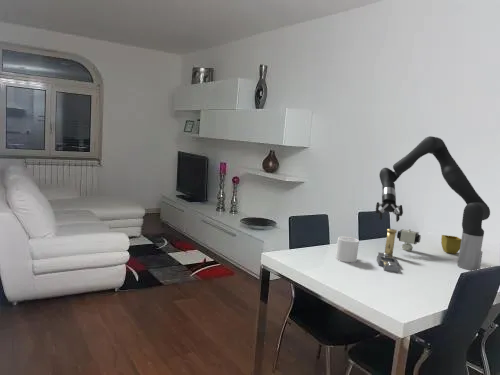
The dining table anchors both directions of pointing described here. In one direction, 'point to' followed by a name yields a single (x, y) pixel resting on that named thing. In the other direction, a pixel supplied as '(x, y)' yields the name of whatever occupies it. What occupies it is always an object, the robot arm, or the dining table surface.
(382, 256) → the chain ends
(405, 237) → the pneumatic valve
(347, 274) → the dining table surface
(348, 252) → the mug
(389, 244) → the brass pin
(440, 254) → the dining table surface
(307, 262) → the dining table surface
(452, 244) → the flower pot
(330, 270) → the dining table surface
